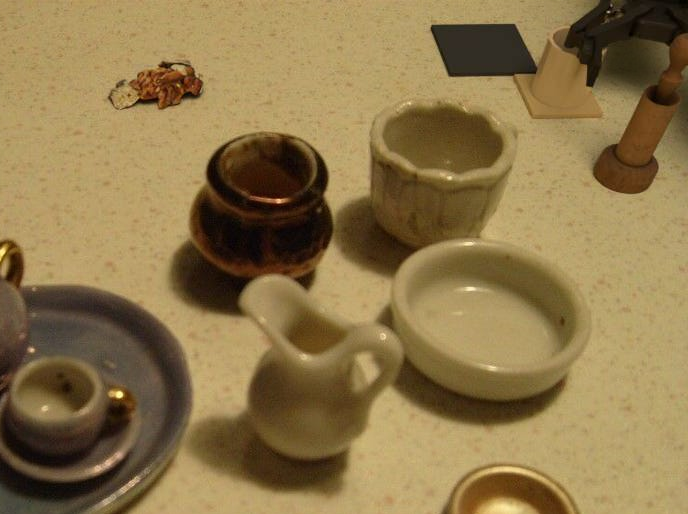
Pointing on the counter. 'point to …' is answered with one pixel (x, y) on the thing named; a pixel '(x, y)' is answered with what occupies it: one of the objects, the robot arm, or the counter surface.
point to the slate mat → (483, 50)
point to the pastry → (158, 85)
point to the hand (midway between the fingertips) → (656, 87)
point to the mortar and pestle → (645, 129)
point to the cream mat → (544, 111)
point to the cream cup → (561, 74)
